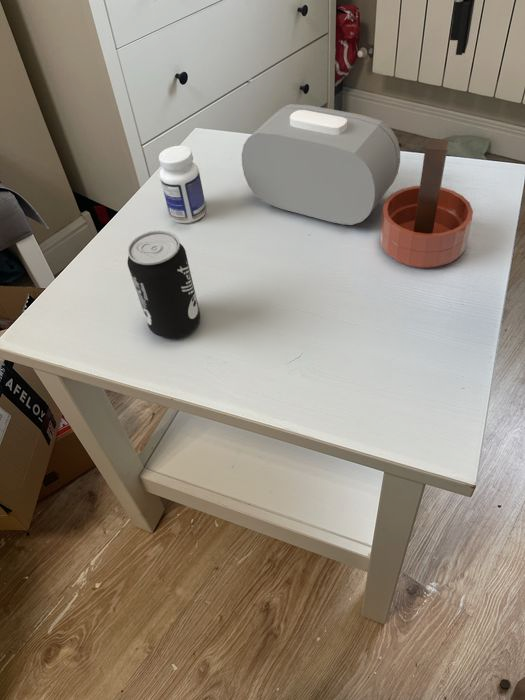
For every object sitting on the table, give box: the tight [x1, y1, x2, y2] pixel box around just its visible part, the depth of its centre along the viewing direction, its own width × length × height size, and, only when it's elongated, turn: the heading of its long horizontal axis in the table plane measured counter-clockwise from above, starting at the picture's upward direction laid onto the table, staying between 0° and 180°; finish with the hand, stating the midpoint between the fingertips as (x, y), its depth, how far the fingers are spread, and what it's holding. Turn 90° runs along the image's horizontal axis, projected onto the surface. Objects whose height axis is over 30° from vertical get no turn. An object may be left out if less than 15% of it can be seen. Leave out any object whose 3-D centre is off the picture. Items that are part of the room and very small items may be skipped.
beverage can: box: [127, 230, 201, 339], centre depth 66 cm, size 7×7×12 cm
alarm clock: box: [241, 103, 401, 226], centre depth 80 cm, size 21×10×13 cm, turn 60°
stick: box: [413, 137, 450, 234], centre depth 71 cm, size 2×2×14 cm
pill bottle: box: [158, 145, 207, 224], centre depth 83 cm, size 6×6×10 cm
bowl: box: [379, 185, 474, 269], centre depth 75 cm, size 11×11×6 cm
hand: (521, 50), depth 47 cm, fingers open, 9 cm apart
